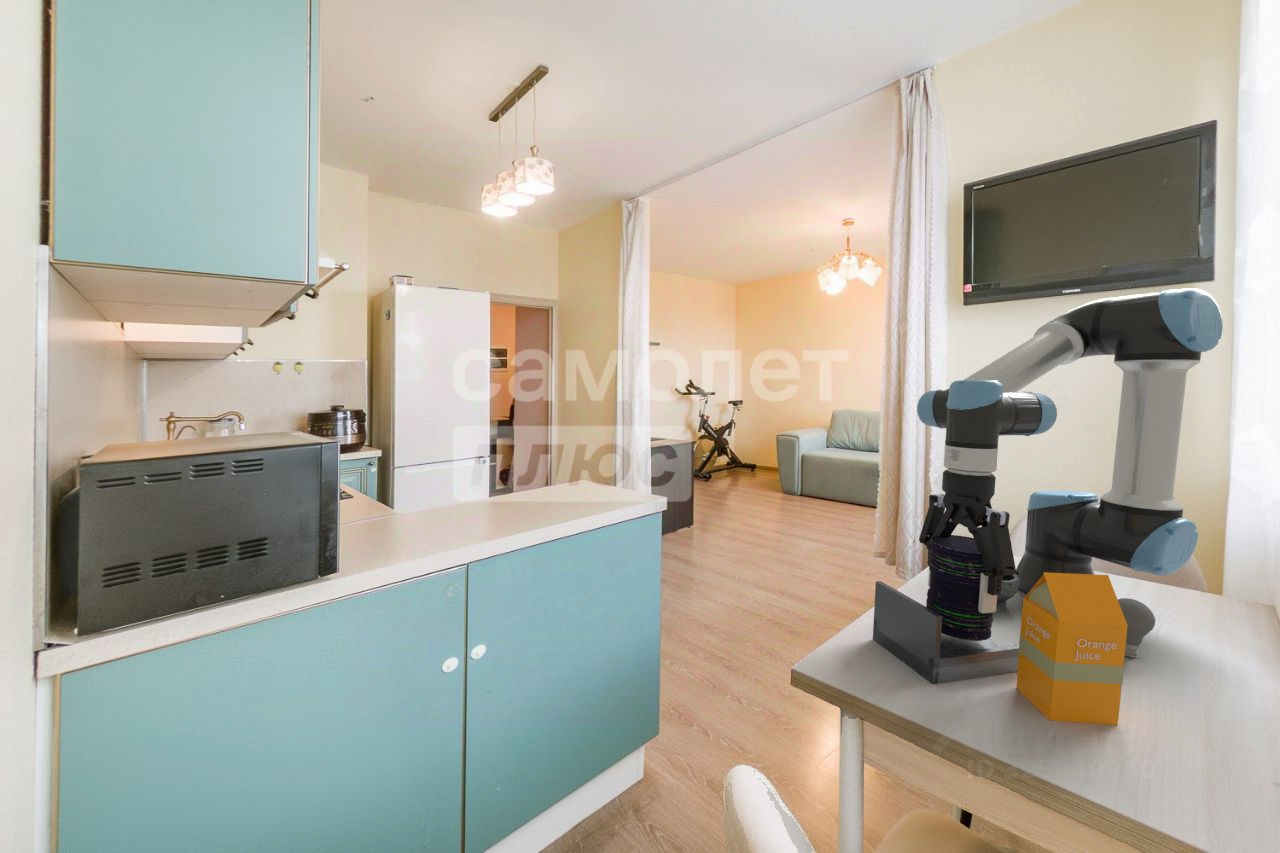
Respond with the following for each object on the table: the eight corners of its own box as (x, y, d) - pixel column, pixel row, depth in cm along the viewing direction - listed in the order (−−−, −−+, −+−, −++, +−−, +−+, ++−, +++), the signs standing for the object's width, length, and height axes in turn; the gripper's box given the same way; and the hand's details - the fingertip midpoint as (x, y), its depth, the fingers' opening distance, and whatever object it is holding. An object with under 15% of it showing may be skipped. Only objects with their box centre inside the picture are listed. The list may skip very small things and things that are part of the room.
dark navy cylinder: (912, 619, 90) (917, 538, 89) (949, 610, 94) (954, 532, 93) (967, 646, 81) (973, 556, 80) (1005, 634, 85) (1012, 548, 84)
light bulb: (1138, 649, 89) (1143, 595, 88) (1159, 667, 84) (1165, 609, 83) (1096, 643, 91) (1101, 590, 90) (1114, 660, 86) (1120, 604, 85)
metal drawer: (950, 629, 96) (953, 574, 95) (1020, 670, 82) (1025, 606, 81) (872, 639, 92) (875, 581, 91) (932, 684, 79) (936, 616, 78)
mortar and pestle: (1002, 618, 101) (1007, 560, 100) (953, 601, 109) (956, 547, 108) (1027, 605, 107) (1031, 550, 106) (978, 589, 115) (982, 538, 114)
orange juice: (1015, 687, 78) (1024, 562, 76) (1076, 691, 77) (1088, 565, 75) (1050, 721, 70) (1062, 583, 68) (1119, 726, 69) (1133, 586, 67)
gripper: (901, 461, 95) (895, 575, 97) (1013, 485, 73) (1001, 631, 75) (935, 460, 97) (927, 572, 99) (1054, 483, 75) (1041, 626, 77)
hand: (959, 598), depth 87 cm, fingers closed on dark navy cylinder, 10 cm apart
